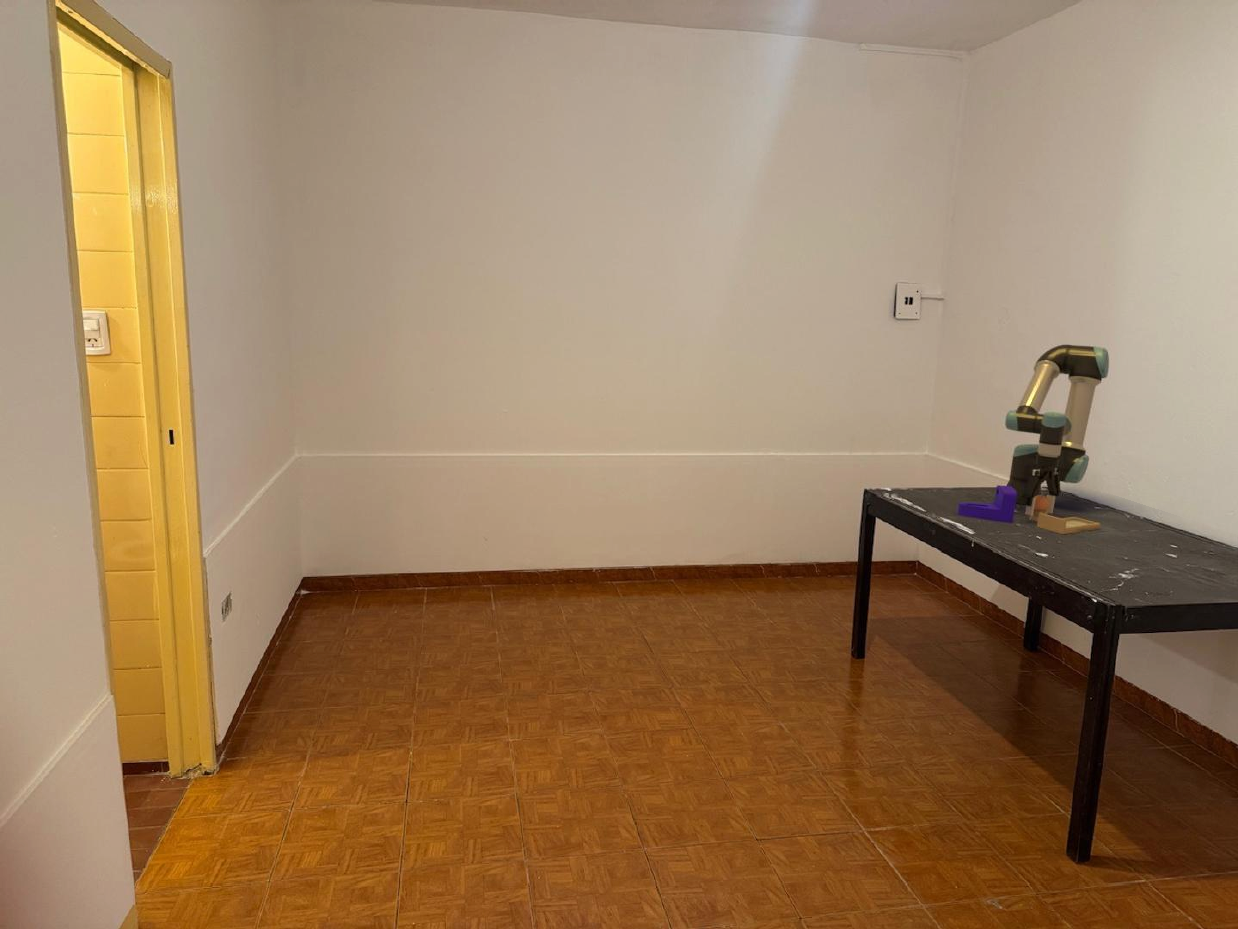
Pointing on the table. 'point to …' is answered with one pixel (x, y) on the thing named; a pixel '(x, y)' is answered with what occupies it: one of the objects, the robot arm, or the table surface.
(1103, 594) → the table surface
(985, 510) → the bracket
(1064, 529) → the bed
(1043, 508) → the ball
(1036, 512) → the open wooden box
